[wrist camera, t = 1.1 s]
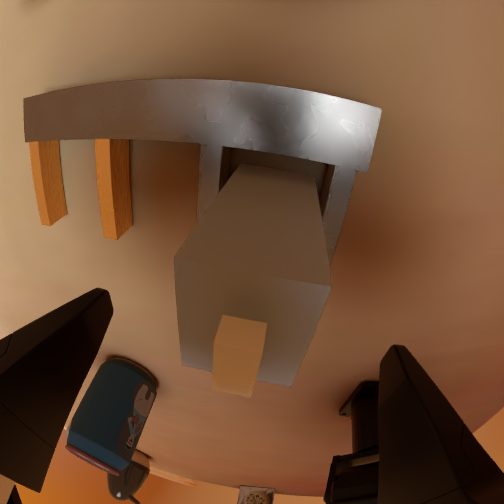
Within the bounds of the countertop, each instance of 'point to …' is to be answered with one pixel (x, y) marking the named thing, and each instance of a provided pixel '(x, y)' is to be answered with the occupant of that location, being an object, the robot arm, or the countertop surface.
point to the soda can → (112, 415)
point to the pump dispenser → (129, 478)
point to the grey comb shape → (196, 138)
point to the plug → (253, 280)
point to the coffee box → (255, 495)
